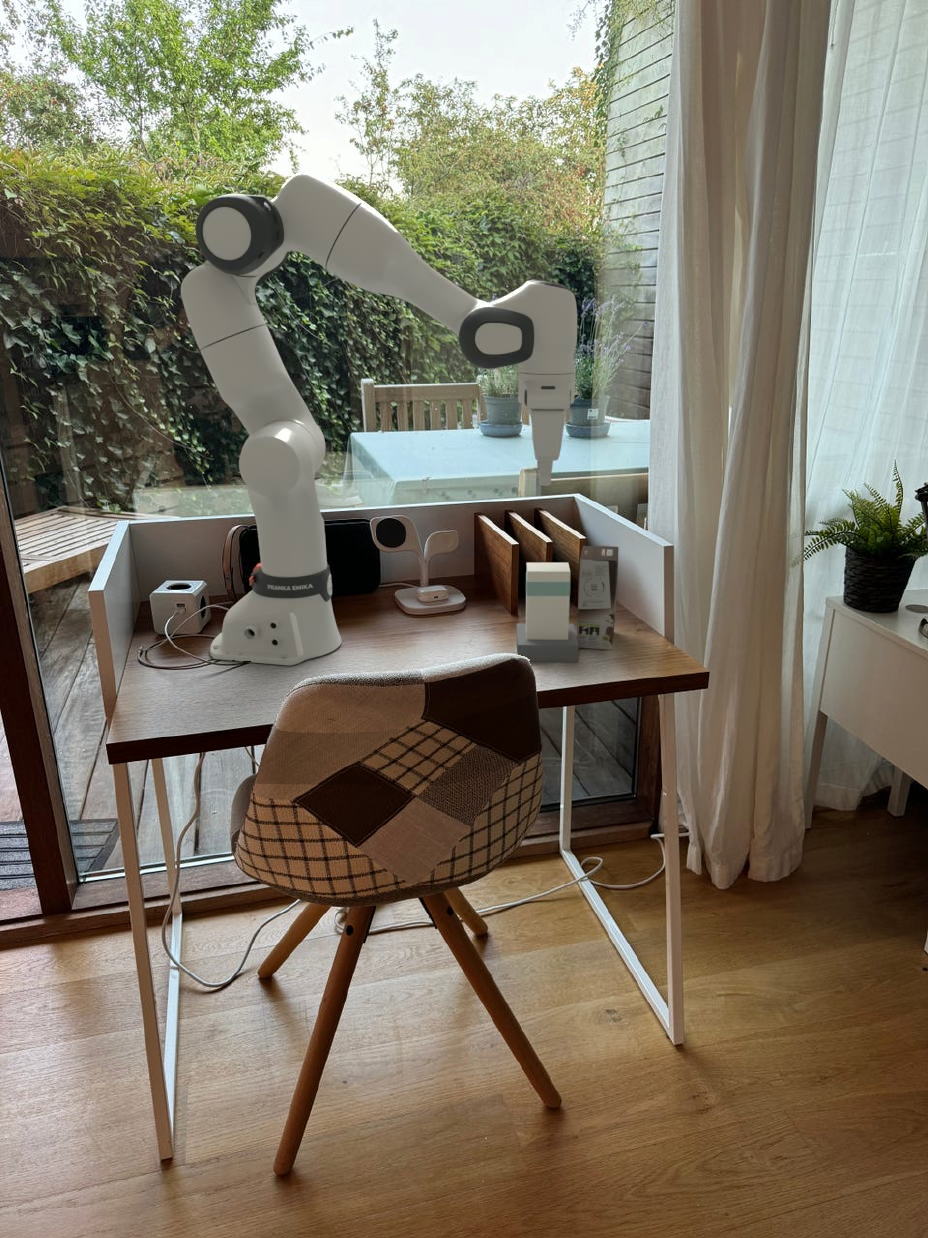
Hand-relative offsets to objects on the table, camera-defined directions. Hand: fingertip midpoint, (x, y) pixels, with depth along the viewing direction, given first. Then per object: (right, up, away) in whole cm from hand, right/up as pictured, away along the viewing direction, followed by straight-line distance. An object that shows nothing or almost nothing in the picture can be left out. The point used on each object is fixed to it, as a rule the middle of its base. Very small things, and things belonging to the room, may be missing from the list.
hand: (543, 478), depth 142 cm
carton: (+1, -25, +8) cm, 26 cm away
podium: (+1, -28, +9) cm, 29 cm away
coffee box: (+10, -27, +13) cm, 32 cm away
